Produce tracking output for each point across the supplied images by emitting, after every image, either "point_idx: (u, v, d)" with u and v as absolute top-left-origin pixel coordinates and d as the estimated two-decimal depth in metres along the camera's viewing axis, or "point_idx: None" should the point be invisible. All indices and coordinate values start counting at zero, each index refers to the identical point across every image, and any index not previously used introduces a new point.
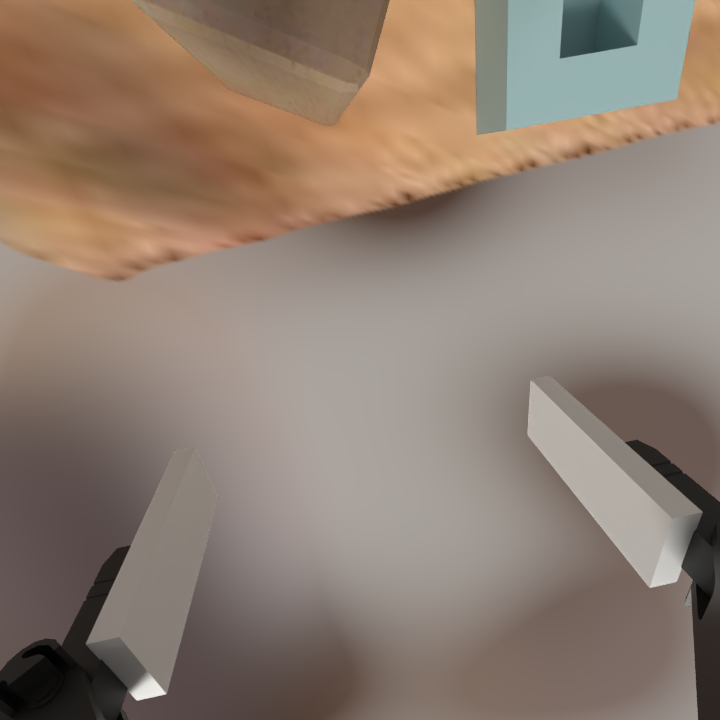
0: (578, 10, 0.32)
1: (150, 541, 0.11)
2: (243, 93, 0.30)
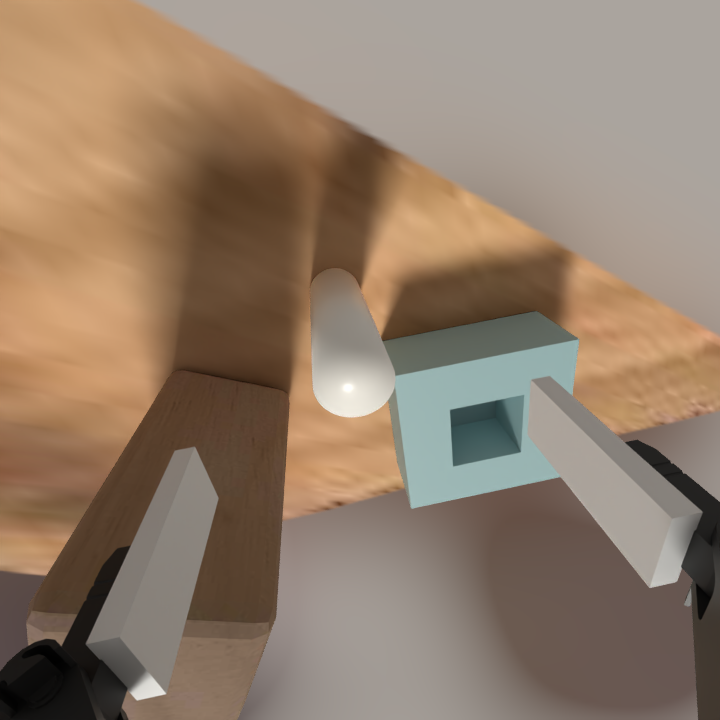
0: None
1: (150, 541, 0.11)
2: None
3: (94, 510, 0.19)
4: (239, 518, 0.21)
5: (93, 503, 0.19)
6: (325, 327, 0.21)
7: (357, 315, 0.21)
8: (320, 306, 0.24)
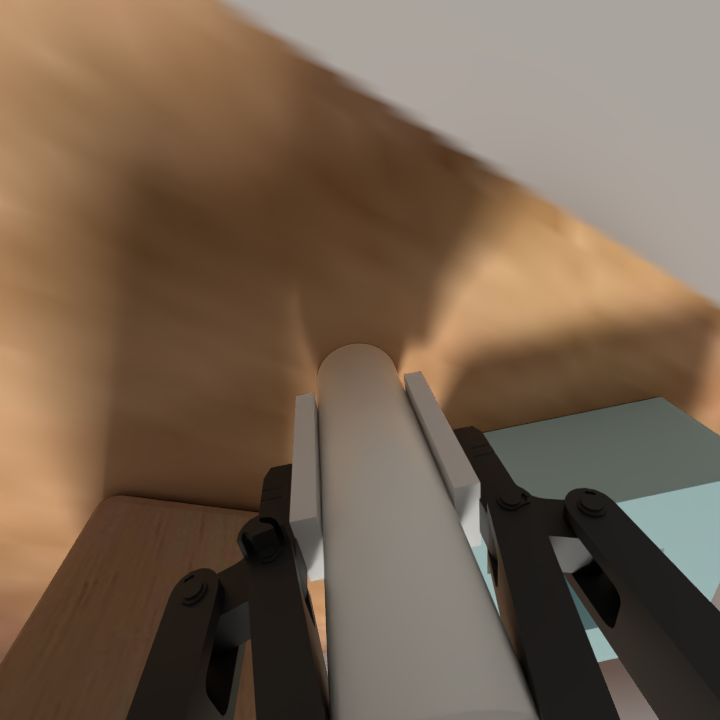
0: None
1: (308, 457, 0.13)
2: None
3: None
4: None
5: None
6: (357, 551, 0.09)
7: (426, 514, 0.10)
8: (339, 454, 0.12)
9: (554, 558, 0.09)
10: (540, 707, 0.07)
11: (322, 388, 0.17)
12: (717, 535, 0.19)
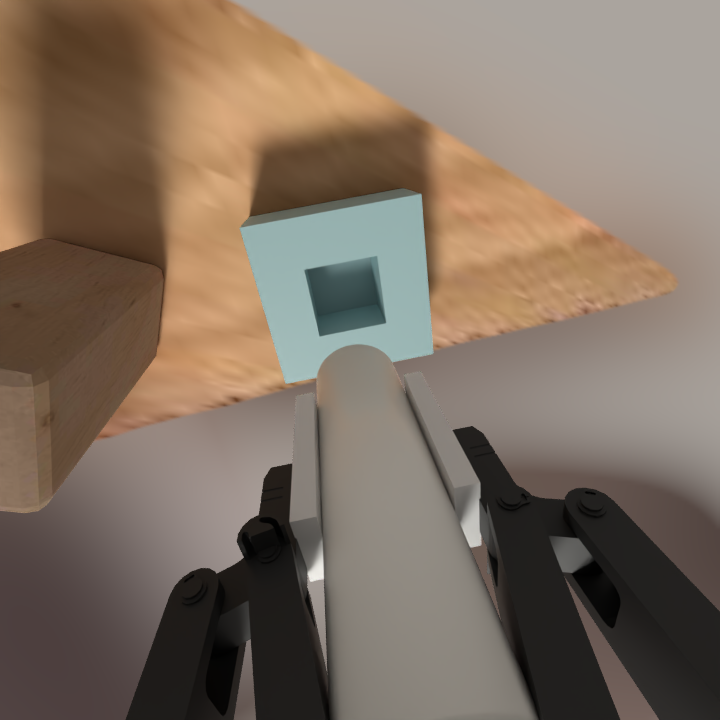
0: (353, 272, 0.37)
1: (308, 457, 0.13)
2: None
3: None
4: (42, 317, 0.22)
5: None
6: (356, 553, 0.09)
7: (426, 516, 0.10)
8: (339, 455, 0.12)
9: (554, 558, 0.09)
10: (540, 707, 0.07)
11: (322, 389, 0.17)
12: (409, 249, 0.32)
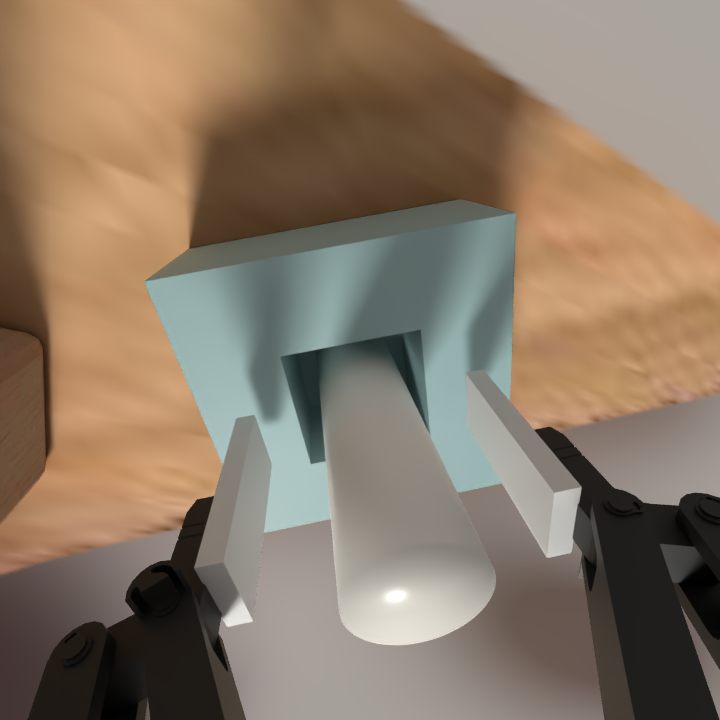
0: None
1: (232, 490, 0.12)
2: None
3: None
4: None
5: None
6: (354, 463, 0.12)
7: (408, 437, 0.12)
8: (338, 402, 0.15)
9: (666, 574, 0.08)
10: (633, 712, 0.06)
11: (322, 358, 0.19)
12: (483, 316, 0.16)
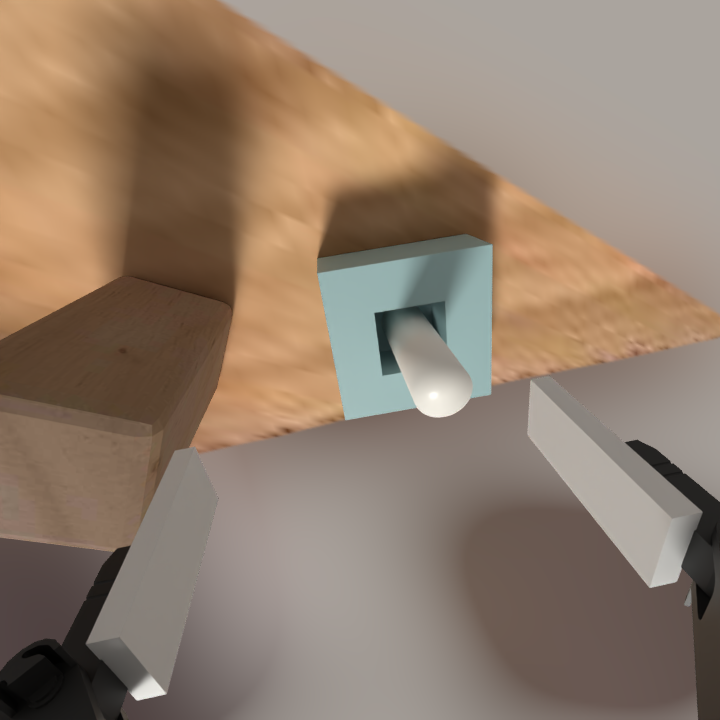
0: None
1: (150, 541, 0.11)
2: None
3: (11, 337, 0.21)
4: (147, 363, 0.23)
5: (12, 334, 0.22)
6: (415, 349, 0.28)
7: (438, 341, 0.28)
8: (403, 333, 0.31)
9: None
10: None
11: (388, 318, 0.35)
12: (476, 295, 0.32)
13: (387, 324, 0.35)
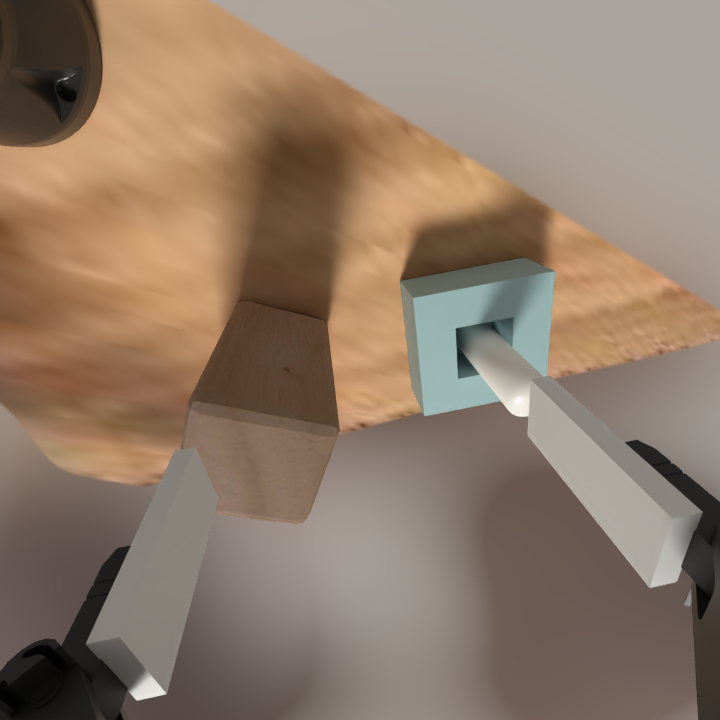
0: None
1: (150, 541, 0.11)
2: None
3: (213, 363, 0.28)
4: (308, 379, 0.30)
5: (211, 360, 0.28)
6: (501, 362, 0.35)
7: (518, 355, 0.35)
8: (483, 346, 0.38)
9: None
10: None
11: (460, 331, 0.42)
12: (539, 311, 0.39)
13: (461, 336, 0.42)
